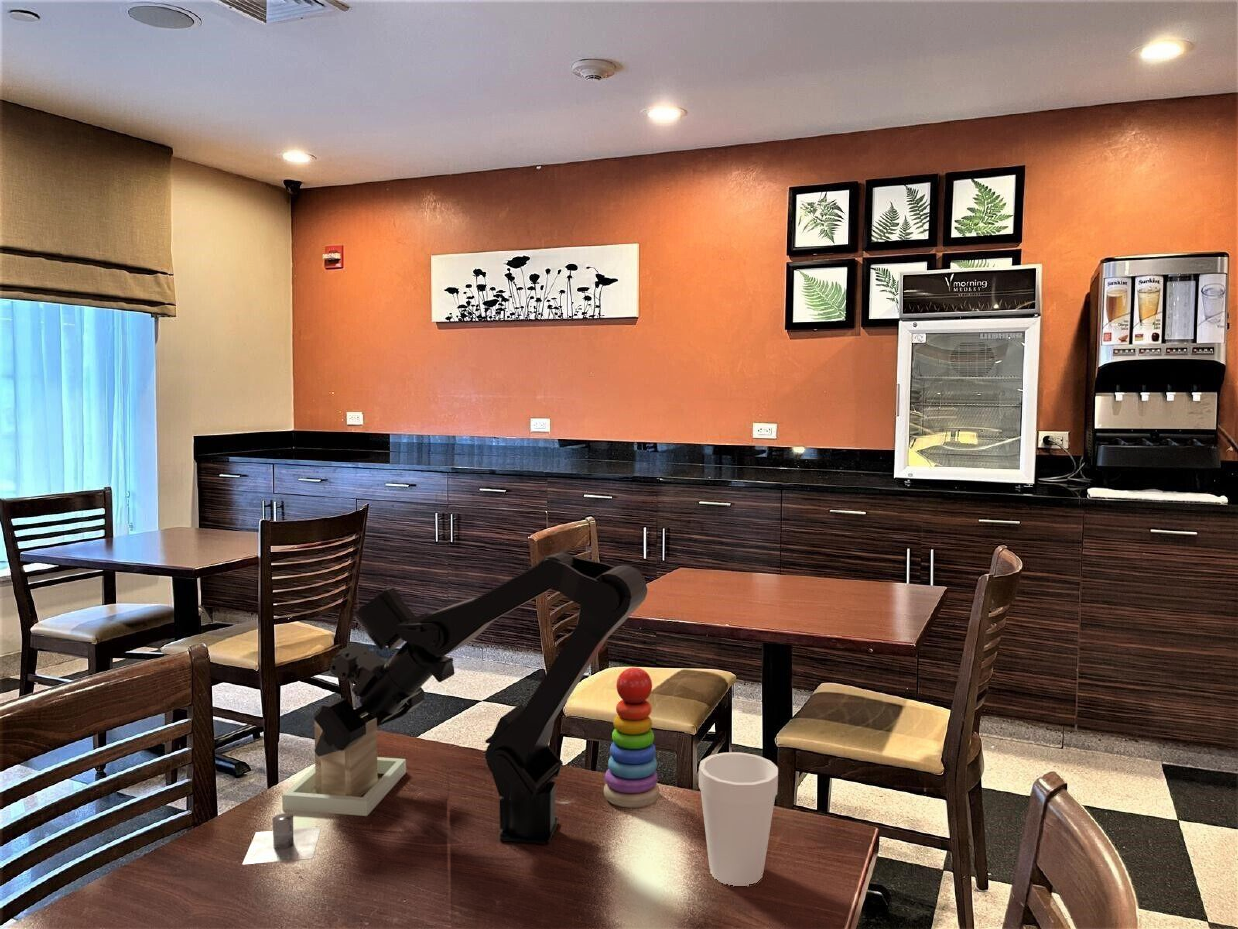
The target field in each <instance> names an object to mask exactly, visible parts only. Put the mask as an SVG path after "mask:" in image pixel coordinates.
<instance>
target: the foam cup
mask: <svg viewBox="0 0 1238 929" xmlns="http://www.w3.org/2000/svg"><path fill="white" fill-rule="evenodd" d="M778 775H779V767H778V766H777V765H776V764H775V763H774V762H772V760H770V759H767V758H765V757H762V756H760V755H758V754H751V753H745V752H720V753H716V754H711V755H708V756H707V757H705V758H703V759H702V760H700V762H699V766H698V788H699V790H700V795H701V797H700V798H701V805H702V813H703V822H704V831H705V839H706V840H705V841H706V850H707V857H708V866H709V869H710V870H709V873H710V875H711V874H712V875H711V876H712V878H713V877H714V878H713V879H714V880H715V879H717V880H718V881H717V880H716V881H717V882H719V883H720V884H722V883H723V885H726V884H728V885H727V886H730V885H733V886H732V887H734V886H747V887H750V886H749V884H753V883H757V882H758V881H759V880H760V879H761V878H762V879H763V874H764V870H765V864H766V857H767V851H768V845H769V844H768V843H769V838H770V833H771V826H772V820H773V815H774V814H773V812H774V806H775V800H776V796H777V795H778V789H779V788H778V787H779V786H778V785H779V784H778V783H779V776H778ZM762 879H761V880H762ZM761 880H760V881H761ZM760 881H759V882H760ZM759 882H758V883H759ZM758 883H757V884H758Z"/></svg>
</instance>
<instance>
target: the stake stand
mask: <svg viewBox="0 0 1238 929" xmlns="http://www.w3.org/2000/svg"><path fill="white" fill-rule="evenodd" d="M321 829H322V826H318V827H317V826H315V827H307V828H306V827H305V828H294V815H293V814H292V813H287V812H284V813H279V814H277V815H274V816H273V817H272V830H266V831H255V834H254V837H253V839H252V840H251V843H250V845H249V847H248V850H247V852H246V855H245V856H244V860H243V862H242V864H241V865H243V866H245V865H255V864H265V863H266V864H268V863H280V862H290V861H299V860H300V861H302V860H313V858H314V854H315V850H316V847H317V844H318V840H319V837H320V833H321V831H322V830H321Z"/></svg>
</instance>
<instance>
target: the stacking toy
mask: <svg viewBox="0 0 1238 929" xmlns="http://www.w3.org/2000/svg"><path fill="white" fill-rule="evenodd" d="M615 688H616V691H617V694H618V696H619V698H621V700H619V701H618V702H617V704H616V706H615V712H616V714H617V715H616V716H615V717H614V718H613V721H612V722H613V727H614V729H613V731H612V733H611V734H612V735H611V738H612V741H613V742H612V743H611V745H610V747H609V753H610V756H609V759H608V762H607V768H608V769H607V770H606V771H605V775H604V782H605V784H604V785H603V795H604V798H605V799H606V800H607V801H608V802H609V803H611V804H613V805H615V806H617V807H622V808H630V809H631V808H643V807H646V806H647V807H648V806H649V805H650V806H651V805H652V804H653V803H655V802H656V801H657V800H658V798H659V796H660V791H661V790H660V788H659V785H658V784H657V783H658V774H657V772H656V770H657V767H658V761H657V758H656V757H655V756H656V750H657V749H656V746H655V744H654V740H655V734H654V731H653V730H652V726H653V721H652V718H651V717H650V715H651V713H652V705H651V703H650V702H649V701H648V700H647V699H648V698H649V697H650V695H651V693H652V689H653V681H652V679H651V676H650V674H649V673H648V672H647V671H646V670H644V669H642V668H640V667H628V668H626V669H625V670H623V671H621V673H620V674H619V675H618V678H617V680H616V687H615Z"/></svg>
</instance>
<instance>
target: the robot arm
mask: <svg viewBox="0 0 1238 929" xmlns="http://www.w3.org/2000/svg"><path fill="white" fill-rule="evenodd" d="M551 590H553V591H556V592H559V594H561V595H563V596H564V597H566V598H567V599H569V600H571V601H572V602H573V603H576V604H578V605H580V606H579V610H578V615H577V616H578V617H577V621H576V625H575V627H574V629H573V630H572V632H571V634H570V635H569V637H568V639H567V641H566V642H565V643H564V645H563V647H562V648H561V650H560V652H559V653H558V654H557V656H556V658H555V659H554V661H553V662H552V664H551V666H550V667H549V669H548V670H547V672H546V673H545V675H544V677H543V678H542V679H541V681H540V683H539V685H538V686H537V688H535V691H534V693H533V694H532V696H531V698H529V701H528V702H527V703H526V706H524V705H523V704H522V703H519V704H518V705H516V706H515V707H514V708H512V709H511V710H509V711H508V712H507V713H505V714H504V715H503V716H501V717H500V718H499V720H498V722H497V723H496V726H495V729H494V731H493V733H492V735H491V736H489V737H488V738H486V739H485V741H484V742H485V744H488V745H487V747H486V749H485V752H484V759H485V761H486V765H487V767H488V769H489V771H490V772H491V774H492V777H493V780H494V784H495V788H496V790H497V793H498V795H499V797H500V798H499V829H500V830H502V831H501V833H500V835H499V840H500V841H502V842H514V843H516V842H517V843H525V844H526V843H528V844H541V845H548V844H550V842H551V839H552V838H553V834H554V832H555V831H556V828H557V826H558V824H559V818H558V817H556V781H553V780H554V779H555V778H558V776H559V775H560V772H561V770H562V767H563V761H562V759H561V758H560V757H559V755H557V753H556V752H555V751H554V750H553V748H552V747H551V746H550V745H549V743H550V740H551V738H552V736H553V730H554V724H555V721H556V719H557V717H558V715H559V714H560V712H561V711H562V709H563V707H564V706H565V704H566V703H567V702H568V700H569V698H570V697H571V695H572V693H573V692H574V690H575V689H576V688H577V686H578V685H579V683H580V681H581V680H582V678H583V676H584V675H585V674H586V672H587V670H588V669H589V667H590V665H591V664H592V663H593V661H594V660H595V657H596V656H597V655H598V653H599V651H600V650H601V649H602V647H603V645H604V644H605V642H606V641H607V639H608V638H609V637H610V636H611V635H613V633H614V632H615V631H616V630H617V629H618V628H619V627H620V626H621V625H622V624H623V623H624V622H626V620H627V619H628V618H629V617H631V615H632V614H633V613H634V612H635V611H636V610H637V609H638V608H639V607H640V606H641V605H642V604H643V602H644V601H645V599H646V598H647V595H648V586H647V582H646V579H645V577H644V576H643V573H641V572H640V571H639V570H638V569H637V568H635V567H633V566H631V565H626V564H625V565H624V564H623V565H617V566H614V565H611V564H609V563H606V562H605V563H604V562H601V561H595V560H591V559H584V558H581V557H578V556H574V555H572V554H569V553H566V552H557V553H553V554H550V555H549V556H547V557H544V558H542V559H541V560H540V561H539V562H538V563H537V564H535V565H533V566H531V567H530V568H528V569H526V570H525V571H523V572H520V573H519V574H517V575H515V576H514V577H511V578H510V579H508V580H506V581H504V582H503V583H501V584H500V585H499V584H498V585H497V586H495V587H494V588H492V589H490V590H489V591H487V592H485V593H483V594H481V595H479V596H477V597H473V598H470V599H467V600H463V601H460V602H457V603H454V604H452V605H449V606H446V607H444V608H442V609H439V610H437V611H432V612H431V611H429V612H425V613H422V614H420V615H417V616H416V615H415V613H414V612H413V611H412V610H411V609H410V607H409V606H408V605H407V604H406V603H405V601H404V600H403V599H402V597H401V595H400V593H399V592H398V591H397V589H396V588H395V586H394V587H393V586H392V587H389V588H386V589H384V590H383V591H382V592H381V593H380V594H378V595H377V596H375V597H374V598H373V599H371V600H370V601H368V602H367V603H366V604H364V605H362V606H361V607H359V608H358V609H357V610H356V612H355V614H354V615H353V617H354V619H355V621H356V622H357V623H358V625H359V626H360V627H361V628H362V629H363V631H364V632H365V633H366V635H367V636H368V638H370V639H371V641H372V642H373V643H374V645H375V646H376V647H377V648H378V650H380V651H383V650H384V649H385V648H386V647H387V649H388V650H389V651H392V650H395V649H397V648H398V647H399V646H401V645H402V644H403V645H402V646H401V647H400V648H399V649H397V651H396V652H395V653H393V655H392V656H391V657H390V658H389V659H387V660H388V661H385V660H384V659H382V658H381V656H380V655H378V654H377V653H375V652H374V651H372V650H371V649H369V648H368V647H366V646H364V645H363V644H361V643H353V644H352V645H349V646H346V647H344V648H342V649H340V650H339V652H337V653H335V656H334V657H333V658H331V659H330V660H329V664H330V668H329V671H330V673H331V675H333V676H334V677H336V678H337V679H339V680H340V681H343V682H344V681H347V682H349V683H351V684H353V685H354V686H353V687H352V689H351V691H352V693H353V694H354V695H355V697H359V703H360V706H358V707H356V709H354V708H355V707H354V706H352V704H351V703H350V702H349V701H348V699H347V698H343V697H336V698H335V699H332V700H330V701H329V702H327V703H324V704H323V705H321V706H319V708H318V709H317V710H316V711H315V712H314V714H313V720H315V721H316V722H317V724H318V725H319V726H320V727H321V729H322V733H321V736H320V738H319V740H318V743H317V745H316V748H315V747H314V754H315V753H316V754H317V756H319V757H320V756H323V755H326V754H329V753H332V752H336V751H339V750H341V751H343V750H345V749H347V748H349V747H350V746H352V745H354V744H356V743H357V741H359V740H360V739H361V738H362V737H363V736H364V735H365V734H366V724H367V723H368V722H370V721H372V720H374V719H375V718H377V727H379V726H382V725H385V724H387V723H390V722H392V721H395V720H398V719H400V718H402V717H403V716H404V715H405V716H406V714H408V713H410V712H412V711H413V710H416V709H417V708H418V707H419V706H420V705H421V704H422V703H423V702H424V701H425V690H424V689H423V688H422V687H423V685H424V684H425V683H427V681H428V680H429V679H430V678H431V677H432V676H433V677H434V678H435V680H436V681H437V682H438V683H442V682H443V681H445V680H447V679H449V678H451V677H453V676H455V673H456V672H455V667H454V658H453V657H448V656H446V655H448V654H451V653H452V652H454V651H456V650H458V649H460V648H462V647H464V646H466V645H467V644H469V643H471V642H472V641H473V640H474V639H476V637H478V636H480V635H481V634H482V633H483V632H484V631H485V630H486V629H488V628H489V626H490V625H491V624H492V623H494V621H496V620H497V619H499V618H500V617H503V616H504V615H506V614H508V613H510V612H512V611H514V610H515V609H517V608H519V607H521V606H523V605H524V604H526V603H528V602H530V601H532V600H534V599H536V598H537V597H539V596H542V595H543V594H545V593H547V592H548V591H551ZM366 714H367V715H366ZM364 715H366V716H364ZM362 716H364V717H362Z"/></svg>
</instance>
